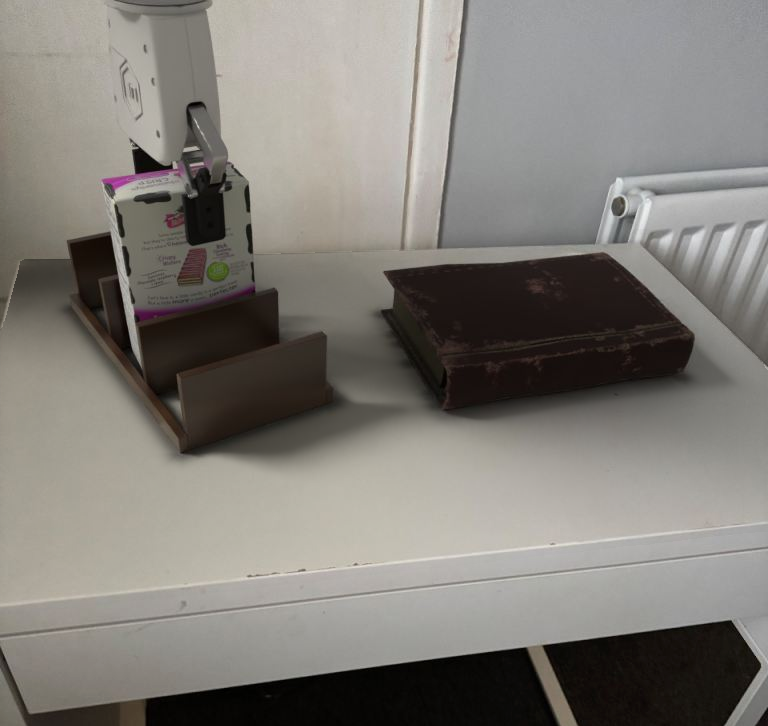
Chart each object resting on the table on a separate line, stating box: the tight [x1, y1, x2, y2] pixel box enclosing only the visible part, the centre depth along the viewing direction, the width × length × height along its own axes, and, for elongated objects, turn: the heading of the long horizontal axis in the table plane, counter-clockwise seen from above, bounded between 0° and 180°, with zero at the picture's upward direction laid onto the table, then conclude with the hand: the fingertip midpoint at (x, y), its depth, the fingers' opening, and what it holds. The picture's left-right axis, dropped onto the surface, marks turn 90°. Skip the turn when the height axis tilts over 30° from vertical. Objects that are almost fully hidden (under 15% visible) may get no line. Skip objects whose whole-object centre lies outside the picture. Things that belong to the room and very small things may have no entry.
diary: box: [380, 251, 696, 411], centre depth 81 cm, size 19×25×5 cm
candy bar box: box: [100, 161, 257, 370], centre depth 73 cm, size 11×5×16 cm, turn 118°
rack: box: [66, 231, 335, 453], centre depth 76 cm, size 26×15×7 cm, turn 34°
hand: (180, 217), depth 69 cm, fingers open, 9 cm apart
